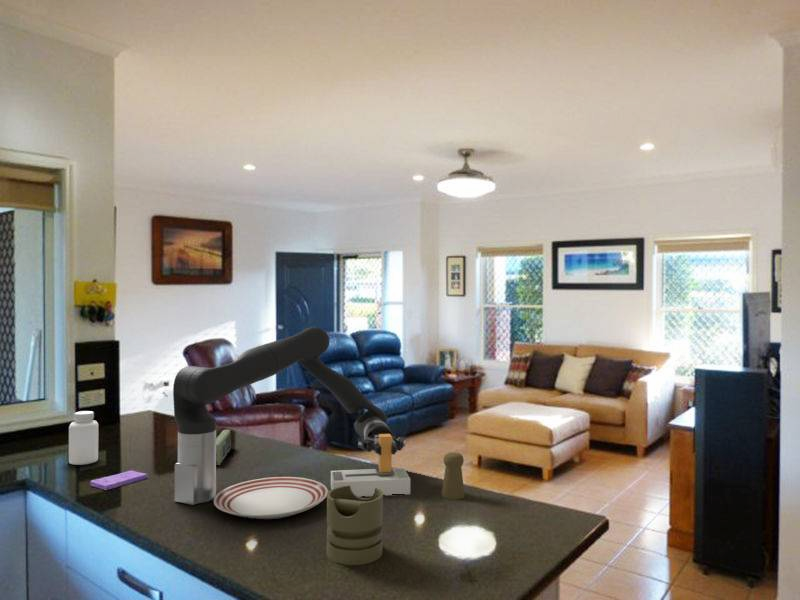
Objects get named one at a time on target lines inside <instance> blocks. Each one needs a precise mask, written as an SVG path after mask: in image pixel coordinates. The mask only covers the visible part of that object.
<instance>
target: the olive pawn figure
mask: <svg viewBox="0 0 800 600" xmlns="http://www.w3.org/2000/svg"><path fill="white" fill-rule="evenodd" d="M464 461H465V460H464V456H463V455H462V454H461V453H460V452H447V453H445V454H444V456H443V464H444V466H445V468H444V474H443V480H442V481H443V483H442V488H441V489H442V490H441V497H442V498H443V499H446V500H452V501H453V500H461V499H462V500H463V499H464V498H465V496H466V495H465V494H466V493H465V487H464V485H465V484H464V479H463V470H462V469H463V467H462V466H463V465H464Z"/></svg>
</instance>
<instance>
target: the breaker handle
mask: <svg viewBox="0 0 800 600" xmlns="http://www.w3.org/2000/svg"><path fill="white" fill-rule="evenodd" d="M379 444H380V446H381V455H378V467H377V468H375V469H376V473H377V475H378V476H379V475H394V471H393V469H392V468H393V467H392V458H393V457H392V455H393V454H391V448H392V436H391V435H390V434H379Z"/></svg>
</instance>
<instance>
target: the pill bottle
mask: <svg viewBox="0 0 800 600" xmlns="http://www.w3.org/2000/svg"><path fill="white" fill-rule="evenodd" d="M94 418H95V412H94V411H92V410H91V411H90V410H80V411H77V412H74V415H73V420H74V421H72V422H71V423H70V424H69V426H68V462H69V464H70V465H74V466H76V465H78V466H83V465H89V464H93V463H96V462H97V461H99V460H98V459H99V423H98V422H97V420H94Z"/></svg>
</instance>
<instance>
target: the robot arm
mask: <svg viewBox="0 0 800 600" xmlns="http://www.w3.org/2000/svg"><path fill="white" fill-rule="evenodd" d="M329 347H330V337H329V334H328V333H327V332H326V330H324V329H323V328H320V327H318V326H310V327H307V328H306V329H304V330H302V331H300V332H298V333H297V334H294V335H292V336H289V337H286V338H282V339H278V340H274V341H271V342H268V343H265V344H261V345H258V346H255V347H252V348H249V349H248V350H245V351H243V352H242V353H241V354H240V355H239V356H238V357H237V359H235V360H234V361H233V362H231V363H228V364H224V365H221V366H216V367H204V366H203V367H202V366H196V365H187V366H184V367H182V368H181V369H179V371H178V372H177V374H176V375H175V378H174V381H173V386H172V387H173V389H172V390H173V391H172V395H173V396H172V397H173V413H174V415H173V416H174V420H175V422H176V424H177V462H175V464H174V502H177V503H182V504H188V505H190V506H191V505H193V506H194V505H197V504H202V503H206V502H209V501H212V500H214V498H215V496H216V495H217V466H216V439H217V419H216V417H214V415H213V414H211V413H210V412H209V409H207V406H206V405H211V404H213V403H216V402H217V401H219V400H221V399H223V398H225V397H227V396H228V395H230V394H231V393H234V392H235V391H237V390H239V389H242V388H245V387H247V386H250V385H252V384H255V383H259V382H260V381H263V380H266V379H268V378H271V377H272V376H275V375H276V374H279V373H281V372H283V371H284V370H286V369H288V368H289V367H291V366H292V365H294V364H295V363H297V362H298V363H299V364H300V365H301V366H302V367H303V368H305V369H306V370H307V371H308V372H309V373H310V374H311V375H312V376H313V377H315V378H316V379H317V380H318V381H319V382H320V383H322V385H324V386H325V388H327V389H328V390H329V391H330V392H331V394H332V395H333V396H334V398H336V399H337V401H338V403H340V405H341V406H342V407H343V408H344V409H345V411H346V412H347V413H348V414H355V413H357V412H358V411H361V410H366V411H365V412H364V413H363V414H362V415H360V416H359V417H358V418H357V419H356V420H355V422H353V423H354V424H353V427H354V430H355V432H356V433H357V435H358V436H360V437H357V442H358V443H357V447H358V449H361V450H363V451H366V452H372V451H373V453H375V454H377V455H378V456H379V455H381V446H380V444H379V434H390V435H391V436H392V448H391V454H392V455H396V453H397V452H400V451H402V450H403V448H404V447H405V446H406V436H404V435H403V436H400V437H398V438H397V437H396V436H394V435H393V432H392V431H391V429H390V427H389V426H388V425H387V424H388V416H387V414H386V413H385V411H384V410H382V409H381V408H380V407H378V406H377V405H375V404H374V403H372V402H371V401H370V400H369V399H368V398H366V396H364V394H363V393H362V392H361V391H360V389H359V388H358V387H357V386H356V384H354V382H353V381H352V380H351V379H350V378H348V377H347V376H345V375H343V374H341V373H340V372H337V371H336V370H333V369H332V368H330V367H329V366H328V365H326V364H325V363H324V362H323V360H321V359H320V357H321V356H322V355H324V353H325V352H326V351H327V350H328V349H329Z"/></svg>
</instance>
